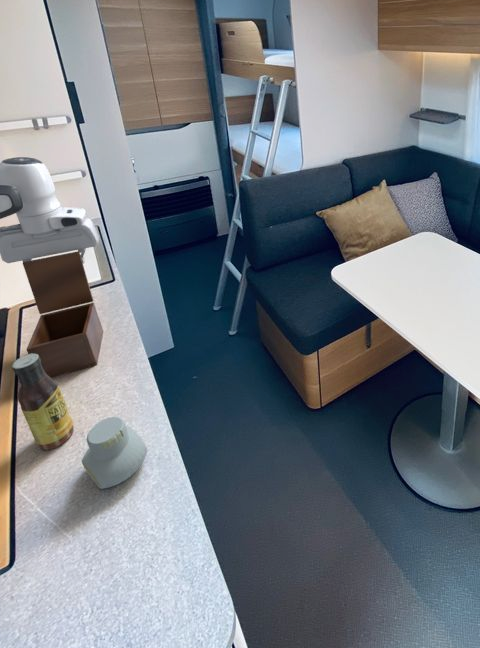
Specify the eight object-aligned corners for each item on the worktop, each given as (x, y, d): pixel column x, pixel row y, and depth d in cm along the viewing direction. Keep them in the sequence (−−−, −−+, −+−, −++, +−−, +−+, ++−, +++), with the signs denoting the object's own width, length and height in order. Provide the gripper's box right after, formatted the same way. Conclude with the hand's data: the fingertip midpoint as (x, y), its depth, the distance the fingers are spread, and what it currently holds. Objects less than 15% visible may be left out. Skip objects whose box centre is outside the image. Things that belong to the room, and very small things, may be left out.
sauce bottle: (69, 446, 82) (36, 371, 74) (32, 455, 80) (-6, 379, 73) (80, 419, 88) (51, 346, 80) (46, 426, 86) (13, 353, 78)
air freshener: (82, 468, 78) (66, 431, 74) (126, 435, 84) (114, 399, 80) (110, 503, 72) (94, 465, 68) (155, 464, 78) (143, 427, 74)
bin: (97, 364, 102) (85, 333, 98) (40, 381, 97) (26, 349, 94) (103, 331, 113) (93, 302, 109) (52, 345, 109) (40, 315, 105)
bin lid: (78, 252, 105) (82, 245, 109) (22, 263, 100) (28, 255, 105) (93, 301, 109) (96, 293, 113) (39, 314, 104) (45, 305, 109)
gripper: (-15, 234, 95) (6, 284, 101) (88, 216, 104) (103, 263, 109) (-6, 223, 101) (14, 271, 106) (92, 207, 109) (105, 253, 114)
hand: (60, 267), depth 108 cm, fingers open, 8 cm apart
